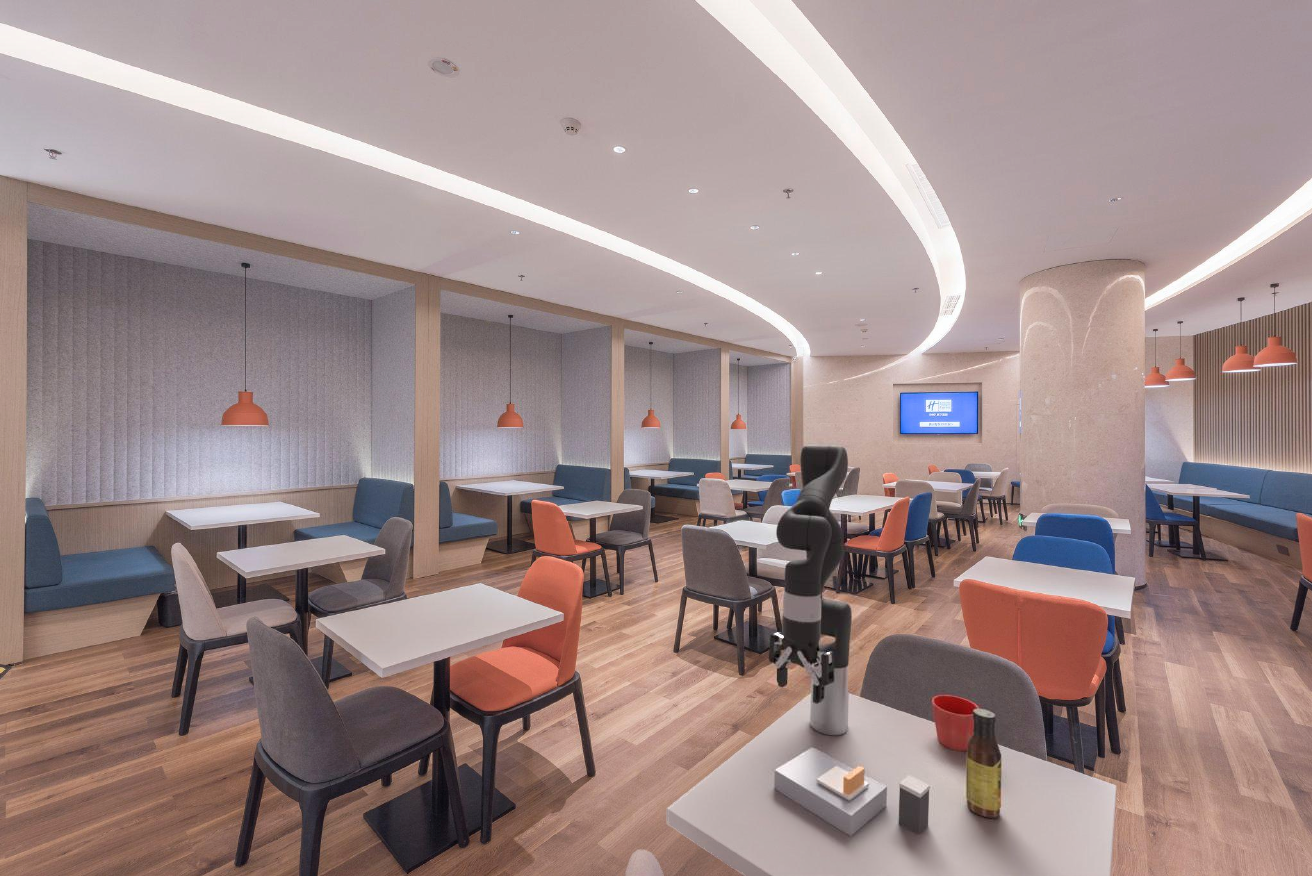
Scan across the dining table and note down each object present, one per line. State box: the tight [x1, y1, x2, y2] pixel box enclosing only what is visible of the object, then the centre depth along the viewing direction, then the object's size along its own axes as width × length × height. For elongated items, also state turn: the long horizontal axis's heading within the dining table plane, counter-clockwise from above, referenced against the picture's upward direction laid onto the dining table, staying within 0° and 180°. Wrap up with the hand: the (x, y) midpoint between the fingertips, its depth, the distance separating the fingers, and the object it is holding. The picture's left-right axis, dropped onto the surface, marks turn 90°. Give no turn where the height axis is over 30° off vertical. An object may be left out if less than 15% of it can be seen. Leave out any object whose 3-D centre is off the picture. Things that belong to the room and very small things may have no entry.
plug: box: [898, 774, 931, 835], centre depth 108 cm, size 4×4×8 cm
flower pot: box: [931, 694, 980, 752], centre depth 138 cm, size 11×11×10 cm
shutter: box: [817, 765, 869, 801], centre depth 114 cm, size 8×8×4 cm
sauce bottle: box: [965, 708, 1003, 819], centre depth 113 cm, size 7×6×20 cm
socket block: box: [773, 747, 888, 837], centre depth 116 cm, size 14×18×4 cm
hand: (799, 693), depth 111 cm, fingers open, 8 cm apart
